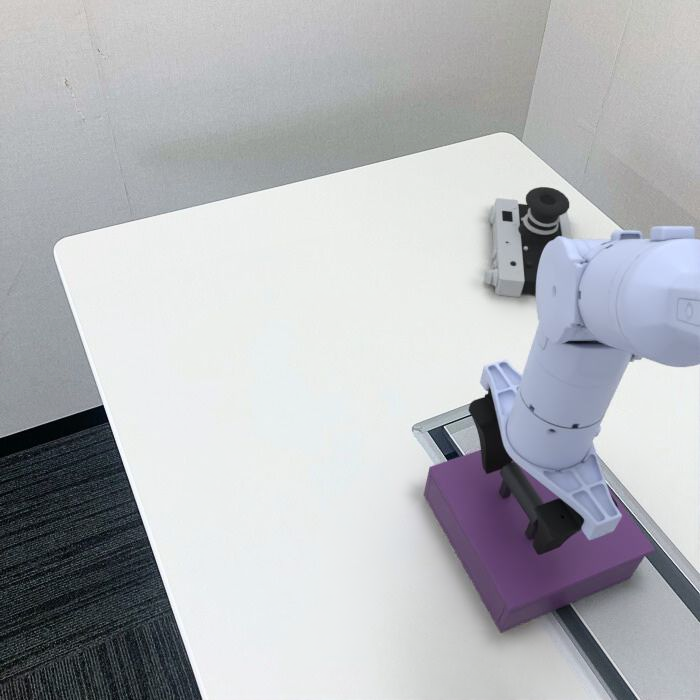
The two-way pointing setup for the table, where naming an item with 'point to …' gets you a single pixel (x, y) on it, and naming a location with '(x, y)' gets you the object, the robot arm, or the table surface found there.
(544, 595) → the box cover
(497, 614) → the purple box
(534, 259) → the camera
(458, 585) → the table surface
